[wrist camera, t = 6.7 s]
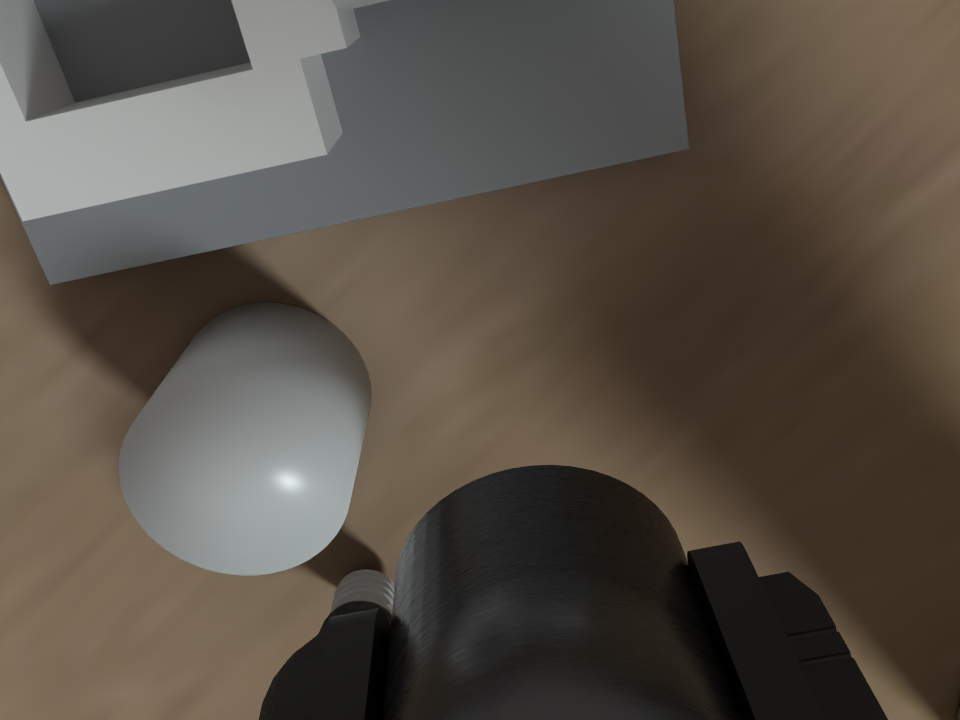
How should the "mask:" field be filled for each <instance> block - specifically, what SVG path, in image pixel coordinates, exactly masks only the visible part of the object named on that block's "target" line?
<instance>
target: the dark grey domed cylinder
mask: <svg viewBox="0 0 960 720" xmlns="http://www.w3.org/2000/svg"><path fill="white" fill-rule="evenodd" d="M382 720H746V717H745V715H744V712H743V709H742V707H741V704H740V701H739V699H738V696H737V693H736V691H735V688H734V685H733V683H732V680H731V677H730V675H729V672H728V670H727V667H726V664H725V662H724V659H723V656H722V654H721V651H720V648H719V646H718V643H717V640H716V638H715V635H714V632H713V630H712V627H711V624H710V622H709V619H708V617H707V614H706V611H705V609H704V606H703V603H702V601H701V598H700V595H699V593H698V590H697V587H696V585H695V582H694V579H693V577H692V574H691V571H690V569H689V566H688V562H687V559H686V556H685V554H684V551H683V548H682V546H681V543H680V541H679V538H678V536H677V534H676V531H675V530H674V528H673V527H672V525H671V523H670V522H669V520H668V518H667V517H666V516H665V515H664V514H663V513H662V511H661V510H660V509H659V508H658V507H657V506H656V505H655V504H654V503H653V502H652V501H651V500H649V499H648V498H647V497H646V496H645V495H644V494H642V493H641V492H639V491H637V490H636V489H634V488H633V487H631V486H630V485H628V484H626V483H624V482H622V481H620V480H617V479H615V478H613V477H611V476H608V475H605V474H602V473H599V472H596V471H592V470H587V469H582V468H577V467H571V466H559V465H538V466H527V467H519V468H512V469H508V470H504V471H501V472H497V473H493V474H490V475H487V476H485V477H482V478H479V479H477V480H474V481H472V482H470V483H468V484H466V485H464V486H462V487H461V488H459V489H457V490H455V491H454V492H452V493H451V494H449V495H448V496H446V497H445V498H443V499H442V500H440V501H439V502H438V503H437V504H436V505H435V506H434V507H433V508H431V509H430V510H429V511H428V512H427V513H426V514H425V515H424V516H423V518H422V519H421V520H420V521H419V522H418V523H417V525H416V526H415V527H414V529H413V531H412V532H411V534H410V535H409V537H408V538H407V540H406V542H405V544H404V547H403V549H402V551H401V554H400V556H399V560H398V564H397V568H396V575H395V586H394V597H393V608H392V619H391V630H390V641H389V652H388V663H387V674H386V685H385V696H384V707H383V718H382Z"/></svg>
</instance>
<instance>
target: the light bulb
mask: <svg viewBox="0 0 960 720" xmlns="http://www.w3.org/2000/svg"><path fill="white" fill-rule="evenodd" d="M394 586H395V584H394V583H393V582H392V580H391V579H390V578H389V577H387V576H386V575H385V574H383V573H381V572H378V571H374V570H358V571H353V572H352V573H350V574H348V575H346V576H345V577H344V578H343V579H342V580H341V581H340V583H339V586H338V587H337V589H336V591H335V595H334V600H333V605H332V609H331V613H330V614H329V616H328V617H327V618H326V620H325V621H324V623H323V625H322V627H321V629H320V632H319V634H318V635H317V636H316V637H314V638H313V639H312V640H311V641H309V642H308V643H307V644H305V645H304V646H303V647H302V648H300V649H299V650H298V651H296V652H295V653H294V654H293V655H292V656H291V657H290V658H289V659H288V660H287V662H286V663H285V664H284V666H283V667H282V668H281V669H280V671H279V672H278V673H277V675H276V676H275V677H274V678H273V681H272V683H271V685H270V687H269V689H268V692H267V694H266V696H265V698H264V701H263V704H262V707H261V712H260V717H259V720H271V719H272V715H273V711H274V706H275V702H276V698H277V693H278V691H279V690H280V688H281V687H282V685H283V684H284V682H285V681H286V679H287V678H288V676H289V675H290V673H291V672H292V670H293V669H294V667H295V666H296V664H297V663H298V661H301V660H307V659H312V658H318V657H321V655H322V650H323V644H324V639H325V633H326V628H327V623H328V621H329V619H330V618H331V617H334V616H339V615H345V614H350V613H355V612H361V611H366V610H371V609H377V608H382V609H383V611H384V612H385V614H386V616H387V619H388V622H389V625H390V627H391V619H392V608H393V597H394Z"/></svg>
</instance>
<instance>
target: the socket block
mask: <svg viewBox="0 0 960 720" xmlns="http://www.w3.org/2000/svg"><path fill="white" fill-rule="evenodd" d="M688 149H689V141H688V132H687V122H686V113H685V103H684V94H683V84H682V75H681V65H680V56H679V46H678V37H677V27H676V18H675V8H674V0H0V177H1V179H2V181H3V184H4V186H5V188H6V190H7V192H8V194H9V197H10V199H11V201H12V203H13V205H14V208H15V210H16V212H17V214H18V216H19V218H20V221H21V223H22V225H23V227H24V229H25V232H26V234H27V236H28V238H29V240H30V242H31V245H32V247H33V249H34V251H35V253H36V255H37V258H38V260H39V262H40V264H41V266H42V269H43V271H44V273H45V275H46V277H47V279H48V282H49V284H50V285H53V284H58V283H62V282H67V281H72V280H77V279H81V278H86V277H91V276H95V275H100V274H105V273H109V272H114V271H119V270H124V269H128V268H133V267H138V266H142V265H147V264H152V263H156V262H161V261H166V260H171V259H175V258H180V257H185V256H189V255H194V254H199V253H203V252H208V251H213V250H218V249H222V248H227V247H232V246H236V245H241V244H246V243H250V242H255V241H260V240H265V239H269V238H274V237H279V236H283V235H288V234H293V233H298V232H302V231H307V230H312V229H316V228H321V227H326V226H330V225H335V224H340V223H345V222H349V221H354V220H359V219H363V218H368V217H373V216H377V215H382V214H387V213H392V212H396V211H401V210H406V209H410V208H415V207H420V206H424V205H429V204H434V203H439V202H443V201H448V200H453V199H457V198H462V197H467V196H471V195H476V194H481V193H486V192H490V191H495V190H500V189H504V188H509V187H514V186H518V185H523V184H528V183H533V182H537V181H542V180H547V179H551V178H556V177H561V176H565V175H570V174H575V173H580V172H584V171H589V170H594V169H598V168H603V167H608V166H612V165H617V164H622V163H627V162H631V161H636V160H641V159H645V158H650V157H655V156H659V155H664V154H669V153H674V152H678V151H683V150H688Z"/></svg>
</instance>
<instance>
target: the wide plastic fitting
mask: <svg viewBox="0 0 960 720" xmlns="http://www.w3.org/2000/svg"><path fill="white" fill-rule="evenodd" d="M371 395H372V394H371V383H370V378H369V374H368V371H367V368H366V366H365V363H364V361H363V359H362V357H361V355H360V353H359V352H358V350H357V349H356V347H355V346H354V345H353V343H352V342H351V341H350V340H349V339H348V338H347V336H346V335H345V334H344V333H343V332H342V331H340V330H339V329H338V328H337V327H336V326H334V325H333V324H332V323H330V322H329V321H327V320H326V319H324V318H322V317H321V316H319V315H316V314H314V313H312V312H310V311H308V310H305V309H302V308H299V307H296V306H291V305H287V304H280V303H254V304H247V305H243V306H239V307H236V308H232V309H230V310H228V311H225V312H223V313H221V314H220V315H218V316H216V317H215V318H213V319H211V320H210V321H209V322H208V323H207V324H205V325H204V326H203V327H202V328H201V329H200V330H199V331H198V332H197V334H196V335H195V336H194V337H193V339H192V340H191V342H190V343H189V344H188V346H187V347H186V349H185V350H184V352H183V353H182V354H181V356H180V357H179V359H178V360H177V361H176V363H175V364H174V366H173V367H172V368H171V370H170V371H169V373H168V374H167V375H166V377H165V378H164V380H163V381H162V382H161V384H160V385H159V387H158V388H157V390H156V391H155V392H154V394H153V395H152V397H151V398H150V399H149V401H148V402H147V404H146V405H145V406H144V408H143V409H142V411H141V412H140V413H139V415H138V416H137V418H136V419H135V421H134V422H133V424H132V425H131V427H130V428H129V430H128V431H127V434H126V436H125V438H124V440H123V443H122V447H121V451H120V455H119V466H118V469H119V481H120V485H121V489H122V493H123V496H124V498H125V501H126V503H127V506H128V507H129V509H130V511H131V513H132V515H133V516H134V518H135V519H136V521H137V522H138V523H139V525H140V526H141V527H142V528H143V530H144V531H145V532H146V533H147V534H148V535H149V536H150V537H151V538H152V539H153V540H154V541H156V542H157V543H158V544H159V545H160V546H162V547H163V548H164V549H166V550H167V551H169V552H170V553H172V554H173V555H175V556H177V557H179V558H181V559H183V560H184V561H186V562H189V563H191V564H193V565H196V566H198V567H201V568H204V569H208V570H211V571H215V572H220V573H225V574H232V575H263V574H271V573H275V572H280V571H284V570H287V569H290V568H292V567H295V566H298V565H300V564H302V563H304V562H306V561H308V560H309V559H311V558H312V557H314V556H315V555H317V554H318V553H320V552H321V551H322V550H323V549H324V548H325V547H326V546H327V545H328V544H329V543H330V542H331V541H332V540H333V539H334V537H335V536H336V535H337V533H338V532H339V530H340V528H341V527H342V525H343V523H344V521H345V518H346V516H347V513H348V509H349V504H350V500H351V495H352V491H353V486H354V481H355V477H356V472H357V467H358V463H359V458H360V453H361V449H362V444H363V439H364V435H365V430H366V425H367V421H368V416H369V411H370V406H371Z"/></svg>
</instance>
